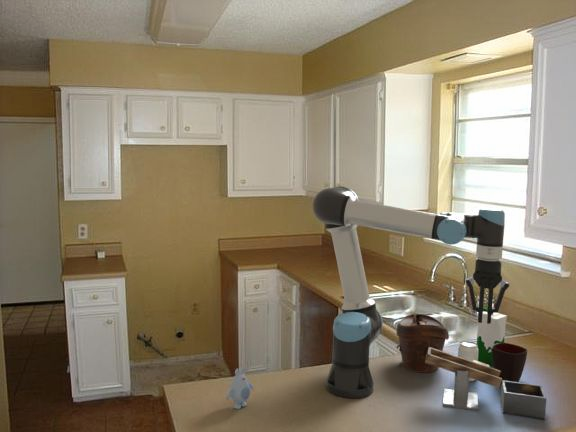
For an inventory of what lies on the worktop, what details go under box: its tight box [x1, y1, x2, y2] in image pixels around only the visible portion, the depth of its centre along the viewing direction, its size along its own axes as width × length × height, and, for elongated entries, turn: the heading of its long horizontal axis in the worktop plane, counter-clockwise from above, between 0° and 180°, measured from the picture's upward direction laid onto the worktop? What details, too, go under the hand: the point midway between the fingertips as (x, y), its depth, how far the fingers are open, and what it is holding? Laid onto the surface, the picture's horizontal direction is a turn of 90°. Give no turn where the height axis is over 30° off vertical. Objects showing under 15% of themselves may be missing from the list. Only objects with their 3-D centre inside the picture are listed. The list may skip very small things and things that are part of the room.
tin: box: [500, 380, 547, 421], centre depth 162 cm, size 11×9×6 cm
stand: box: [442, 369, 479, 412], centre depth 167 cm, size 10×11×11 cm
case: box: [396, 313, 450, 373], centre depth 194 cm, size 18×20×18 cm
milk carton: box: [476, 305, 508, 368], centre depth 198 cm, size 9×9×20 cm
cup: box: [492, 342, 528, 386], centre depth 182 cm, size 10×14×12 cm
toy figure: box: [225, 366, 254, 410], centre depth 159 cm, size 11×6×12 cm, turn 136°
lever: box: [425, 347, 502, 389], centre depth 169 cm, size 22×14×3 cm, turn 73°
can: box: [457, 340, 478, 383], centre depth 184 cm, size 6×6×12 cm
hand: (483, 332), depth 170 cm, fingers closed
